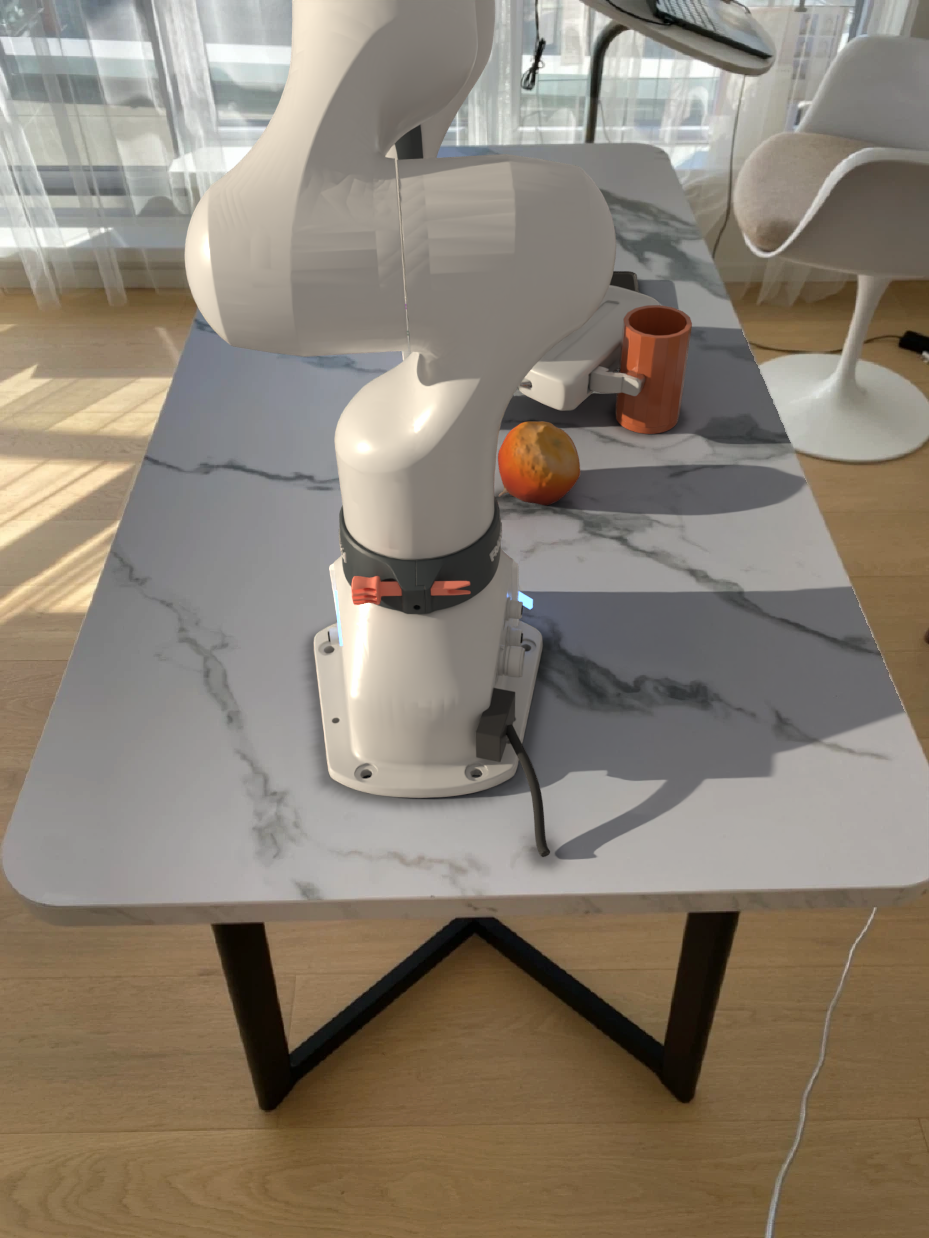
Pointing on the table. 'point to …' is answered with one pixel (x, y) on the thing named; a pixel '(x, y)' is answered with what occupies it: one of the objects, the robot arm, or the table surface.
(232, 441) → the table surface
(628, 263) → the table surface
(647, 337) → the cup
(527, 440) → the fruit
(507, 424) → the table surface
